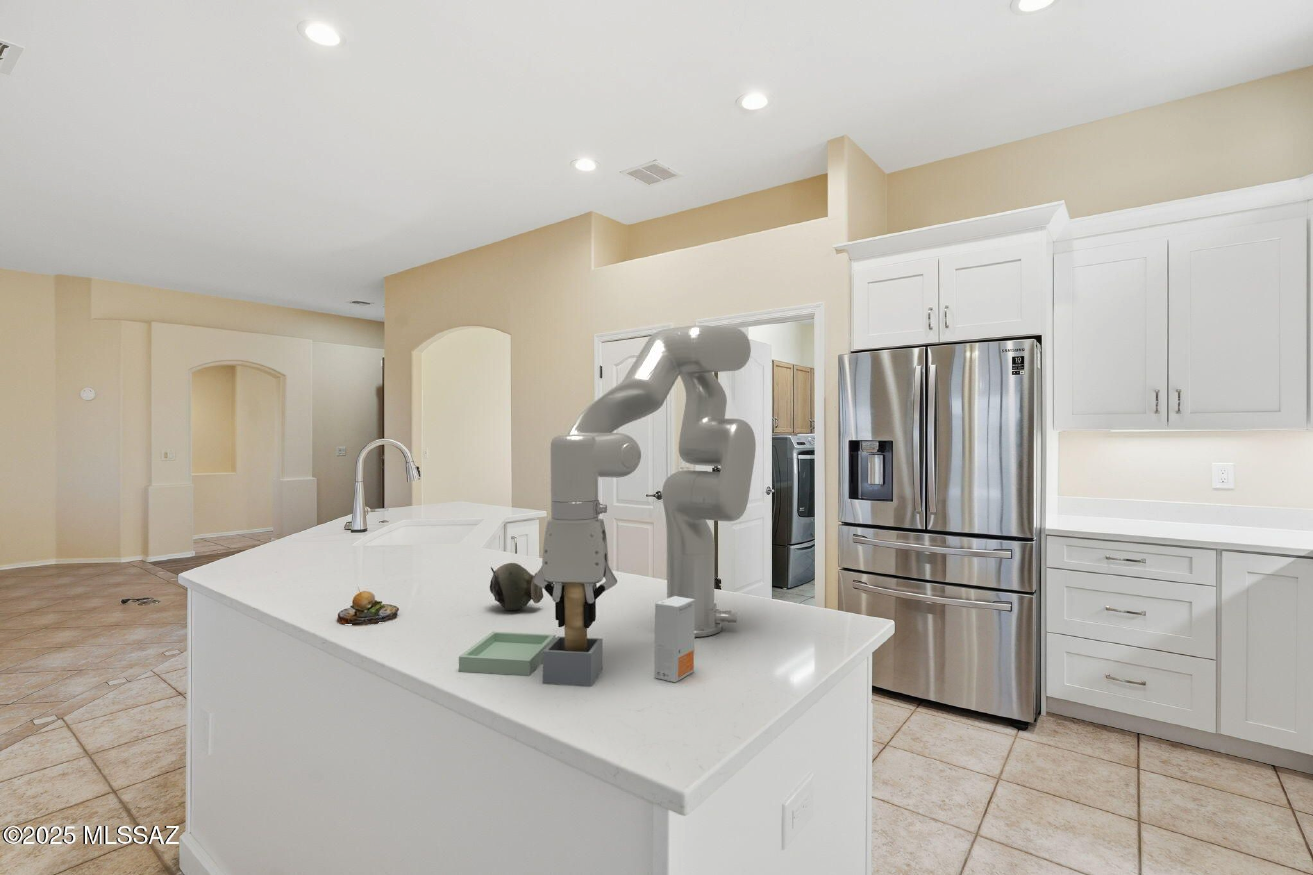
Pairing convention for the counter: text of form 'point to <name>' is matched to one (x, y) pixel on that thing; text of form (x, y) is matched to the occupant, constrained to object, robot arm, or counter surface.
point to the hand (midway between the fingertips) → (575, 624)
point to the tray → (506, 653)
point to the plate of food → (367, 611)
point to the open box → (572, 663)
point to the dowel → (574, 617)
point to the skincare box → (674, 638)
